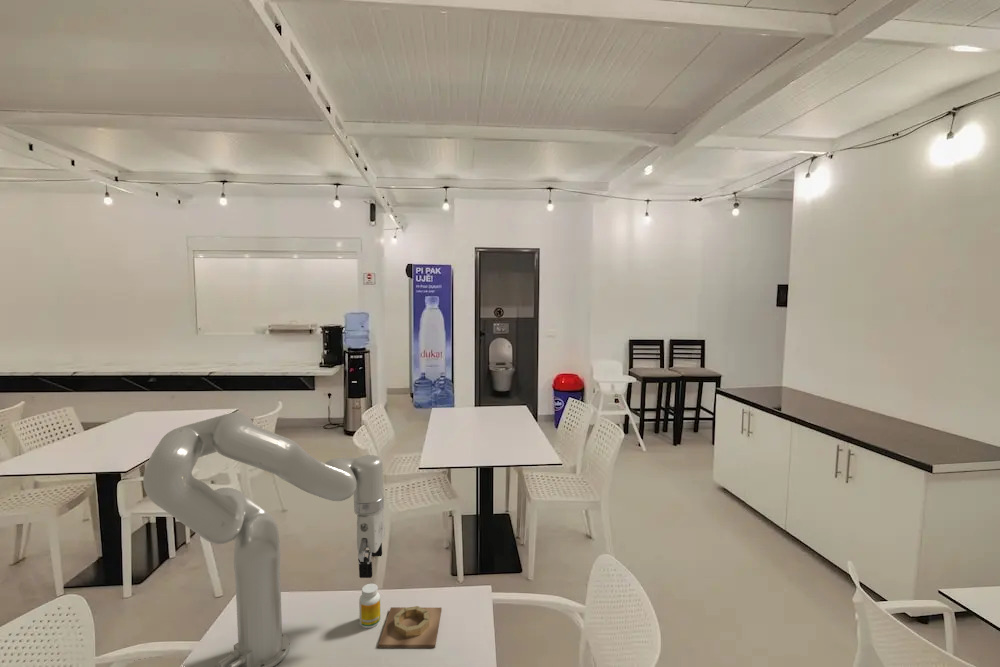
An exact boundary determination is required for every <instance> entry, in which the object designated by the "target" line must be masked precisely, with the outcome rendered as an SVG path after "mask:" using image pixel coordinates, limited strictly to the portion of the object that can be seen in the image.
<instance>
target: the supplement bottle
mask: <svg viewBox="0 0 1000 667" xmlns="http://www.w3.org/2000/svg"><path fill="white" fill-rule="evenodd" d="M378 589H379V588H378V585H377V584H375V583H368V584H365V585H363V586H362V588H361V595H360V597H359V599H358V604H359V626H361V627H362V628H365V629H372V628H374V627H376V626H378V625H379V623H380V622H381V594H380V593H379V590H378Z"/></svg>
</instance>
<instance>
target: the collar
mask: <svg viewBox="0 0 1000 667" xmlns="http://www.w3.org/2000/svg"><path fill="white" fill-rule="evenodd" d="M423 608H424V607H421V606H418V605H416V606H410V607H408V608H403V609H402V610H401V611H400V612H398V613H397V614H396V615H395V616H394V625H395V633H397V634H399V635H401V636H403V637H405V638H408V637H414V636H420V635H421V634H422V633H423V632H425V631H426V630H427V629H428V628H429V614H428V611H427V610H425V609H423ZM414 616H417V617H419V618H421V619H423V621H422V622H421V623H420V624H419V625H416V626H410V627H407V626H404V625H402V624H400V622H402V621H403V620H404V619H405V618H408V617H414Z"/></svg>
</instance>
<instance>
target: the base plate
mask: <svg viewBox="0 0 1000 667" xmlns="http://www.w3.org/2000/svg"><path fill="white" fill-rule="evenodd" d="M403 608H408V607H405V606H404V607H396V606H395V607H390V608H389V609H390V610H389V612H388V615H387V618H386V621H385V623H384V627H383V630H382V634H381V636H380V638H379V639H380V640H379V641H378V648H381V649H382V648H385V649H386V648H388V649H389V648H392V649H393V648H397V649H398V648H404V649H405V648H407V649H409V648H410V649H411V648H414V649H415V648H416V649H418V648H420V649H423V648H424V649H429V648H431V649H433V648H436V646H437V645H436V644H437V639H438V634H439V633H438V632H439V627H440V622H441V614H442V610H443V609H442V607H422V608H423V609H425V610H427V611H428V614H429V628H428V629H427V630H426V631H425V632H423V633H422V634H421V635H420V636H414V637H408V638H405V637H403V636H401V635H399V634H397V633H395V625H394V616H395V615H396V614H397V613H398V612H400V611H401V610H402V609H403ZM422 621H423V619H421V618H419V617H417V616H414V617H408V618H405V619H404V620H403V621H402V622H400V624H402V625H404V626H407V627H410V626H416V625H419V624H420V623H421V622H422Z"/></svg>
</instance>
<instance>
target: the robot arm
mask: <svg viewBox="0 0 1000 667" xmlns="http://www.w3.org/2000/svg"><path fill="white" fill-rule="evenodd" d="M214 453H218V454H219V455H221V456H223V457H225V458H228V459H230V460H234V461H236V462H240V463H242V464H245V465H248V466H250V467H254V468H256V469H260V470H261V471H265V472H268V473H271V474H272V475H275V476H277V477H278V478H280V479H281V480H283V481H286V482H287V483H289V484H290V485H292V486H294V487H297V488H298V489H300V490H301V491H303V492H306V493H309V494H311V495H314V496H316V497H319V498H321V499H325V500H328V501H331V502H343V501H347V500H348V499H350V498H351V497H352V496H353V508H354V509H353V510H354V512H353V513H354V514H356V515H357V517H356V546H357V552H358V553H357V557H358V559H357V560H358V571H359V574H358V577H359V578H361V579H371V578H372V577H373V562H372V557H382V555H383V541H384V539H385V535H386V534H385V533H386V531H385V530H386V527H385V518H384V517H385V516H384V509H385V500H384V498H385V496H384V473H383V472H384V470H383V468H384V466H383V460H382V458H381V456H377V455H373V454H372V455H371V454H369V455H362V456H359V457H353V458H352V457H346V458H345V457H340V458H339V457H336V458H332V459H329V460H327V461H325V462H322V461H321V460H319V459H317V458H315V457H313V456H312V455H311V454H309V453H308V452H307V451H306V450H305V449H304V448H303V447H302V446H301V445H299V443H297V442H296V441H294V440H293V439H290V438H288V437H286V436H284V435H283V436H282V435H280V434H278V433H275V432H272V431H270V430H268V429H265V428H262V427H260V426H258V425H255V424H254V422H253V420H252V419H251V418H250V417H249V416H248V415H247V414H245V413H241V412H230V413H229V412H228V413H225V414H222V415H219V416H215V417H211V418H207V419H204V420H201V421H197V422H195V423H194V422H193V423H189V424H185V425H183V426H179V427H177V428H174V429H172V430H170V431H169V432H167V433H166V434H165V435H163V437H162V438H161V439H160V441H159V442H158V444H157V445H156V446H155V448H154V449H153V452H152V453H151V455H150V457H149V460H148V461H147V464H146V466H145V469H144V472H143V473H144V474H143V477H142V478H143V480H142V481H143V488H144V491H145V494H146V496H147V497H148V498H149V500H150V501H151V502H152V503H153V504H154V505H156V506H157V507H159V508H160V509H162V510H163V511H164V512H166V513H168V514H169V515H171V516H172V517H173V518H175V519H176V520H177V521H179V522H180V523H181V524H182V525H184V526H185V527H187V528H188V529H190V530H191V531H193V532H194V533H195V534H197V535H198V536H200V537H201V538H202V539H203V540H205V541H207V542H209V543H210V544H215V545H224V544H228V543H229V542H232V541H235V542H234V549H233V550H234V551H233V568H234V580H235V581H234V582H235V600H236V619H237V620H236V621H237V622H236V623H237V624H236V626H237V643H235V644H233V650H232V651H231V652H230V653H229V655H228V656H226V657H224V658H222V659H221V660H219V661H217V663H216V667H275V666H277V665H278V664H280V663H281V662H282V661H283V660H284V658H286V656H287V655H288V653H289V650H290V639H289V637H288V636H287V635H286V634H284V633H283V620H282V619H283V618H282V617H283V616H282V588H281V587H282V586H281V544H280V537H279V536H280V535H279V528H278V524H277V521H276V519H275V518H274V516H273V515H272V514H271V513H269V512H268V511H267V510H266V509H264V508H263V507H261V506H260V505H259V504H258V503H257V502H255V501H254V500H253V499H251V498H249V497H248V496H247V495H246V494H245V493H243V492H242V491H240V490H238V489H236V488H232V487H220V488H217V489H213V488H212V487H210V486H209V485H208V484H207V483H205V482H204V481H202V480H199V479H198V478H196V477H194V475H193V470H194V468H195V465H196V464H197V462H198V460H199V458H201V457H204V456H208V455H212V454H214ZM366 554H367V556H366Z"/></svg>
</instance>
